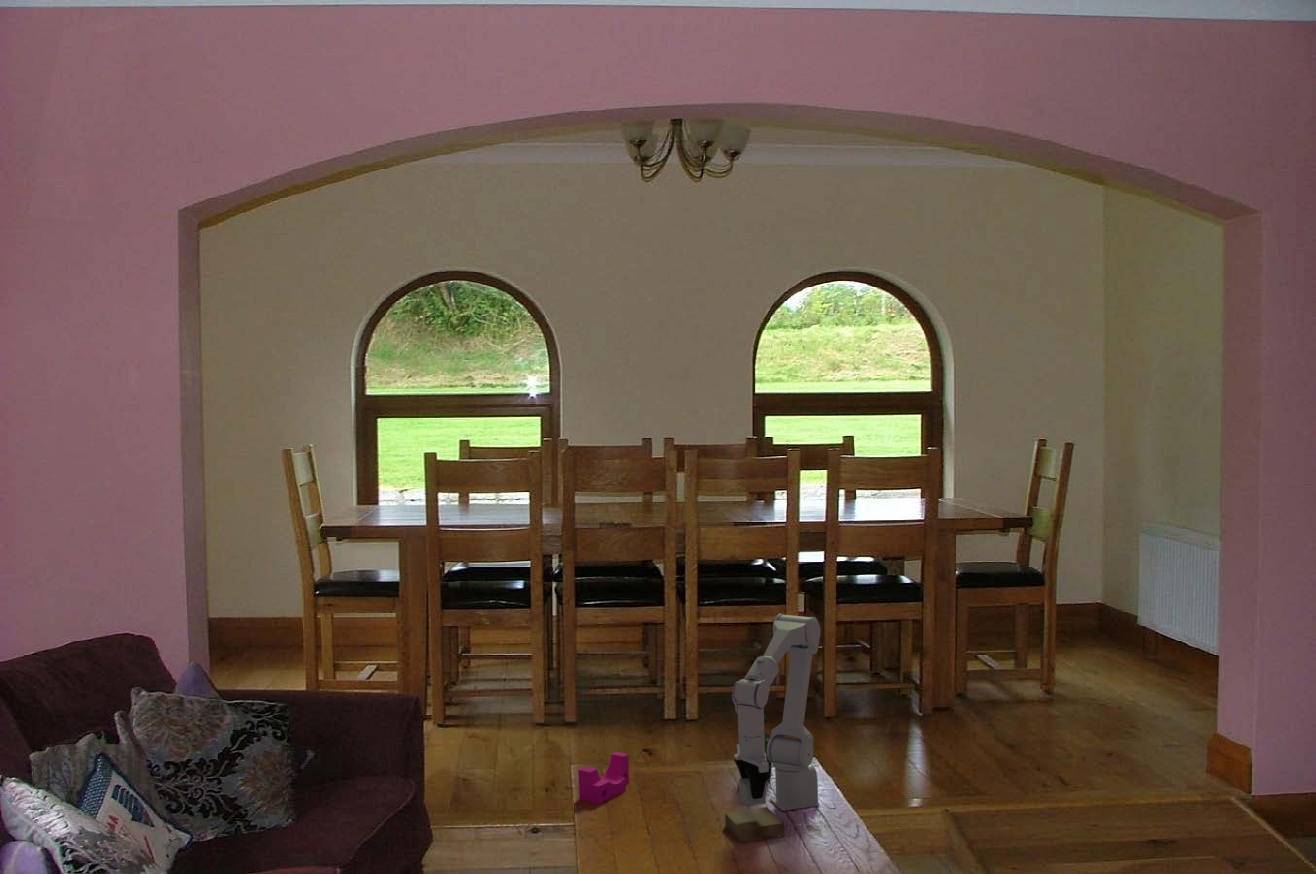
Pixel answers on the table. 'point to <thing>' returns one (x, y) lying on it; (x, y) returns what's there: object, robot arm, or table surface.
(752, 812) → the base block
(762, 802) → the gray cube
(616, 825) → the table surface
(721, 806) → the table surface
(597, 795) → the toy block
